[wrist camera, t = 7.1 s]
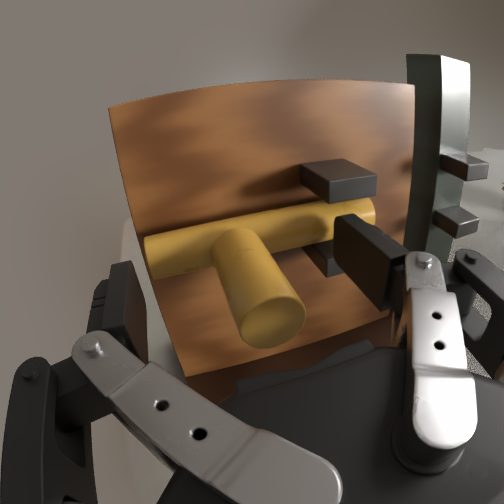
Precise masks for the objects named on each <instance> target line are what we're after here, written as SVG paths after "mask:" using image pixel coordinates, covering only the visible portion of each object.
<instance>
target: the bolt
mask: <svg viewBox="0 0 504 504" xmlns="http://www.w3.org/2000/svg"><path fill="white" fill-rule="evenodd" d="M351 213H354V214H356V215H357V216H358V217H360V218H361V219H362V220H364V221H365V222H367V223H369V224H372V225H374V224H375V209H374V206H373V203H372V201H371V200H370V198H369V197H367V198H361V199H355V200H350V201H344V202H339V203H333V204H328V203H326V202H325V201H324V200H322V201H316V202H311V203H305V204H300V205H295V206H289V207H284V208H279V209H274V210H268V211H263V212H258V213H253V214H248V215H243V216H238V217H234V218H229V219H224V220H219V221H214V222H210V223H205V224H200V225H196V226H191V227H186V228H182V229H177V230H173V231H168V232H164V233H160V234H155V235H151V236H146V237H145V238H144V249H145V255H146V260H147V264H148V268H149V271H150V274H151V276H152V278H153V279H154V280H157V279H161V278H166V277H170V276H175V275H179V274H184V273H188V272H192V271H197V270H201V269H206V268H210V267H214V266H215V268H216V270H217V273H218V276H219V279H220V282H221V285H222V288H223V290H224V293H225V296H226V299H227V302H228V304H229V307H230V310H231V313H232V315H233V318H234V321H235V324H236V326H237V329H238V332H239V334H240V337H241V339H242V340H243V341H244V342H245V343H246V344H248V345H249V346H251V347H254V348H258V349H269V348H274V347H277V346H280V345H282V344H285V343H286V342H288V341H290V340H291V339H292V338H294V337H295V336H296V335H297V334H298V333H299V331H300V330H301V329H302V327H303V325H304V323H305V319H306V309H305V306H304V304H303V302H302V301H301V299H300V298H299V296H298V295H297V293H296V292H295V290H294V289H293V287H292V286H291V284H290V283H289V281H288V280H287V278H286V277H285V275H284V274H283V272H282V271H281V269H280V268H279V266H278V265H277V263H276V262H275V260H274V259H273V257H272V256H271V253H275V252H280V251H284V250H288V249H293V248H297V247H301V246H306V245H310V244H314V243H318V242H323V241H327V240H331V239H333V233H334V220H335V217H337V216H341V215H346V214H351Z"/></svg>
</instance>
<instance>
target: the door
mask: <svg viewBox="0 0 504 504" xmlns="http://www.w3.org/2000/svg"><path fill="white" fill-rule="evenodd" d="M406 62H407V84H405V83H395V82H383V81H369V80H347V79H298V80H275V81H260V82H248V83H238V84H229V85H220V86H212V87H205V88H198V89H191V90H185V91H180V92H174V93H168V94H163V95H158V96H153V97H148V98H144V99H140V100H135V101H130V102H126V103H122V104H118V105H114V106H111V107H109V108H108V111H109V116H110V122H111V128H112V133H113V138H114V143H115V148H116V153H117V157H118V162H119V167H120V171H121V176H122V180H123V184H124V188H125V193H126V196H127V201H128V205H129V208H130V212H131V216H132V220H133V224H134V227H135V231H136V235H137V238H138V242H139V245H140V249H141V252H142V255H143V259H144V262H145V265H146V269H147V272H148V275H149V278H150V281H151V284H152V287H153V290H154V294H155V297H156V299H157V302H158V305H159V308H160V311H161V314H162V317H163V320H164V322H165V325H166V328H167V331H168V334H169V336H170V339H171V342H172V344H173V347H174V349H175V352H176V355H177V357H178V360H179V362H180V365H181V367H182V370H183V372H184V375H185V377H186V383H187V386H188V387H190V388H191V389H193V390H194V391H196V392H197V393H199V394H200V395H202V396H203V397H205V398H206V399H208V400H209V401H211V402H212V403H214V404H215V405H217V404H218V403H219V402H221V401H222V400H223V399H225V398H226V397H228V396H229V395H231V394H233V393H235V392H236V389H235V385H234V381H237V380H241V379H245V378H249V377H252V376H256V375H259V374H263V373H267V372H271V371H283V370H293V369H303V368H308V367H311V366H313V365H314V364H316V363H318V362H319V361H321V360H322V359H324V358H326V357H327V356H329V355H330V354H332V353H333V352H335V351H337V350H338V349H341V348H343V347H346V346H349V345H352V344H354V343H357V342H360V341H362V340H365V339H368V340H369V341H370V342H371V344H372V345H373V346H374V347H381V346H389V347H390V342H391V327H392V315H393V311H394V310H393V309H392V308H391V309H388V310H385V311H383V312H380V311H379V310H378V309H377V308H376V307H375V306H374V305H373V303H372V302H371V301H370V300H369V299H368V298H367V297H366V296H365V294H364V293H363V292H362V291H361V290H360V289H359V288H358V287H357V286H356V285H355V283H354V282H353V281H352V280H351V279H350V278H349V277H348V276H347V275H346V274H345V273H344V272H343V270H342V269H341V268H340V267H339V266H338V265H337V264H336V262H335V260H334V256H333V239H331V240H327V241H323V242H318V243H314V244H310V245H306V246H301V247H297V248H293V249H288V250H284V251H280V252H275V253H271V256H272V257H273V259H274V260H275V262H276V263H277V265H278V266H279V268H280V269H281V271H282V272H283V274H284V275H285V277H286V278H287V280H288V281H289V283H290V284H291V286H292V287H293V289H294V290H295V292H296V293H297V295H298V296H299V298H300V299H301V301H302V302H303V304H304V306H305V309H306V319H305V323H304V325H303V327H302V329H301V330H300V331H299V333H298V334H297V335H296V336H295V337H294V338H292V339H291V340H290V341H288V342H286V343H285V344H282V345H280V346H277V347H274V348H269V349H258V348H254V347H251V346H249V345H248V344H246V343H245V342H244V341H243V340H242V339H241V337H240V334H239V332H238V329H237V326H236V324H235V321H234V318H233V315H232V313H231V310H230V307H229V304H228V302H227V299H226V296H225V293H224V290H223V288H222V285H221V282H220V279H219V276H218V273H217V270H216V268H215V266H214V267H210V268H206V269H201V270H197V271H192V272H188V273H184V274H179V275H175V276H170V277H166V278H161V279H157V280H154V279H153V278H152V276H151V274H150V271H149V268H148V264H147V260H146V255H145V249H144V238H145V237H146V236H151V235H155V234H160V233H164V232H168V231H173V230H177V229H182V228H186V227H191V226H196V225H200V224H205V223H210V222H214V221H219V220H224V219H229V218H234V217H238V216H243V215H248V214H253V213H258V212H263V211H268V210H274V209H279V208H284V207H289V206H295V205H300V204H305V203H311V202H316V201H322V200H324V201H325V202H326V203H328V204H333V203H339V202H344V201H350V200H355V199H361V198H367V197H369V198H370V200H371V201H372V203H373V206H374V209H375V224H374V225H375V226H377V227H378V228H380V229H381V230H382V231H384V232H385V234H388V235H389V236H390V237H391V238H392V239H394V240H396V241H397V242H398V243H399V244H401V245H402V246H403V247H405V248H406V249H407V250H408V251H410V252H414V251H422V252H427V253H430V254H432V255H434V256H435V257H437V258H438V259H439V261H440V262H441V263H445V262H447V261H448V257H449V253H450V249H451V245H452V240H453V238H455V239H457V238H460V237H463V236H466V235H469V234H472V233H475V232H476V231H477V228H478V223H479V218H478V217H476V216H475V215H473V214H471V213H470V212H468V211H466V210H464V209H463V208H461V207H459V206H460V200H461V194H462V187H463V181H473V180H480V179H487V175H488V168H489V163H487V162H485V161H483V160H480V159H478V158H475V157H473V156H470V155H468V154H467V145H468V134H469V116H470V64H469V63H467V62H464V61H460V60H457V59H453V58H450V57H446V56H443V55H433V54H406Z"/></svg>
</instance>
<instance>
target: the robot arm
mask: <svg viewBox="0 0 504 504" xmlns="http://www.w3.org/2000/svg"><path fill="white" fill-rule="evenodd" d="M333 256H334V260H335V262H336V264H337V265H338V266H339V267H340V268H341V269H342V270H343V272H344V273H345V274H346V275H347V276H348V277H349V278H350V279H351V280H352V281H353V282H354V283H355V285H356V286H357V287H358V288H359V289H360V290H361V291H362V292H363V293H364V294H365V296H366V297H367V298H368V299H369V300H370V301H371V302H372V303H373V305H374V306H375V307H376V308H377V309H378V310H379V311H380V312H383V311H385V310H388V309H391V308H392V309H393V310H394V311H393V315H392V327H391V342H390V347H389V346H381V347H374V346H373V345H372V344H371V342H370V341H369V340H368V339H365V340H362V341H360V342H357V343H354V344H352V345H349V346H346V347H343V348H341V349H338V350H337V351H335V352H333V353H332V354H330V355H329V356H327V357H326V358H324V359H322V360H321V361H319V362H318V363H316V364H314V365H313V366H311V367H308V368H303V369H293V370H283V371H271V372H267V373H263V374H259V375H256V376H252V377H249V378H245V379H241V380H237V381H234V385H235V389H236V392H235V393H233V394H231V395H229V396H228V397H226V398H225V399H223V400H222V401H221V402H219V403H218V404H217V405H215V404H214V403H212V402H211V401H209V400H208V399H206V398H205V397H203V396H202V395H200V394H199V393H197V392H196V391H194V390H193V389H191V388H190V387H188V386H187V385H185V384H184V383H183V382H181V381H180V380H178V379H177V378H176V377H174V376H173V375H171V374H170V373H169V372H167V371H166V370H165V369H163V368H162V367H161V366H159V365H158V364H156V363H155V362H153V361H150V362H148V343H147V312H146V303H145V299H144V295H143V292H142V289H141V287H140V284H139V281H138V278H137V275H136V272H135V269H134V266H133V263H132V261H131V260H129V261H125V262H121V263H117V264H113V265H111V270H110V276H109V279H106V280H102V281H101V282H100V283H99V285H98V286H97V287H96V289H95V291H94V296H93V301H92V305H91V310H90V315H89V321H88V326H87V332H86V334H85V335H83V336H82V337H81V338H79V339H78V340H77V341H76V343H75V344H74V346H73V348H72V356H71V357H69V358H67V359H65V360H63V361H61V362H58V363H56V364H54V365H52V366H50V364H49V363H48V362H47V360H46V359H44V358H42V357H33V358H30V359H28V360H26V361H25V362H23V363H22V364H21V365H20V366H19V367H18V369H17V370H16V373H15V375H14V379H13V384H12V389H11V394H10V400H9V405H8V411H7V417H6V424H5V432H4V441H3V451H2V462H1V482H0V504H98V501H97V494H96V486H95V477H94V468H93V456H92V439H91V422H93V421H95V420H97V419H100V418H102V417H104V416H106V415H109V414H111V413H112V414H113V415H114V416H115V417H116V418H117V419H118V420H119V421H120V422H121V423H122V424H123V425H124V426H125V427H126V428H127V429H128V430H129V431H130V432H131V433H132V434H133V435H134V436H135V437H136V438H137V439H138V440H139V441H140V442H141V443H142V444H144V445H145V446H146V447H147V448H148V449H149V450H150V451H151V452H152V453H153V454H154V455H155V456H156V457H157V458H158V459H159V460H160V461H161V462H162V463H163V464H164V465H166V466H167V467H168V468H169V469H170V470H172V471H173V472H174V474H173V476H172V478H171V479H170V481H169V483H168V485H167V486H166V488H165V490H164V492H163V493H162V495H161V497H160V499H159V500H158V502H157V504H504V273H503V272H502V271H501V270H500V269H499V268H497V267H496V266H495V265H494V264H492V263H491V262H490V261H489V260H487V259H486V258H485V257H484V256H482V255H481V254H480V253H478V252H476V251H473V250H469V249H460V250H458V251H457V252H456V254H455V258H454V262H445V263H441V262H440V261H439V259H438V258H437V257H435V256H434V255H432V254H430V253H427V252H422V251H414V252H410V251H408V250H407V249H406V248H405V247H403V246H402V245H401V244H399V243H398V242H397V241H396V240H394V239H392V238H391V237H390V236H389V235H388V234H385V232H384V231H382V230H381V229H380V228H378V227H377V226H375V225H372V224H369V223H367V222H365V221H364V220H362V219H361V218H360V217H358V216H357V215H356V214H354V213H351V214H346V215H341V216H337V217H335V220H334V233H333ZM477 293H478V294H479V295H480V296H481V297H482V298H483V299H484V300H485V301H486V302H487V303H488V304H489V305H490V307H491V310H492V315H491V318H490V320H489V322H488V321H487V320H486V319H485V318H484V317H483V316H482V315H481V314H480V313H479V312H478V311H477V310H476V309H475V308H474V307H473V306H472V305H473V303H474V300H475V297H476V295H477ZM465 346H466V348H467V349H468V350H469V351H470V352H471V353H472V355H473V356H474V357H475V358H476V359H477V361H478V362H479V363H480V364H481V366H482V367H483V368H484V369H485V370H486V372H487V373H488V374H489V375H490V377H491V378H492V379H491V378H487V377H484V376H481V375H478V374H475V373H472V372H469V371H468V368H467V360H466V352H465Z"/></svg>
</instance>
